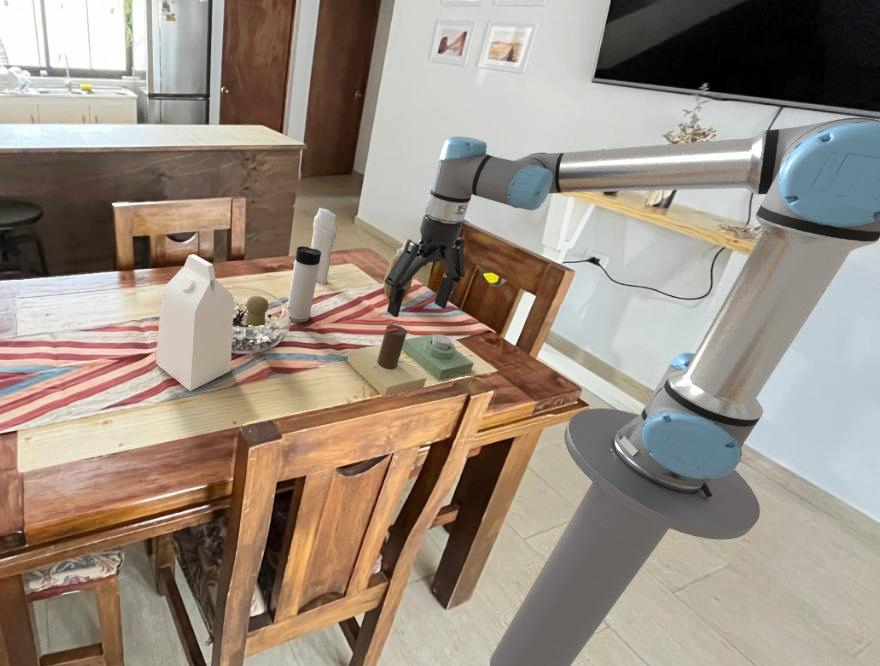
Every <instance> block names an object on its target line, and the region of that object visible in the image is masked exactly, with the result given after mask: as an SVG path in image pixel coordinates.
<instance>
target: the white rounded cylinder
mask: <svg viewBox="0 0 880 666" xmlns="http://www.w3.org/2000/svg"><path fill="white" fill-rule="evenodd" d="M313 218H314V219H313V223H312V228H313V231H312V236H311V237H312V238H311V244H310V248H312V249H318V250H320V251H321V257H320V264H319V269H318V275H317V280H316V282H318V283H320V284H322V285H326V284H327V280H328V276H329V271H330V265H331V255H332V250H333V246H334V241H335V239H337V234H338V227H337V215H336V214H335V213H333V212H332V211H331V210H329V209H327V208H323V207H319V208H318V210H317V213H316V215H315V216H314V217H313Z"/></svg>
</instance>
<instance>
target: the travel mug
mask: <svg viewBox="0 0 880 666" xmlns="http://www.w3.org/2000/svg"><path fill="white" fill-rule="evenodd" d="M320 257H321V251H320V250H318V249H312V248H311V247H309V246H297V248H296V253H295V257H294V263H293V270H292V275H291V281H290V288H289V293H288V301H287V307H286V312H287V313H288V315H289V319H288V320H290V321H292V322H295V323H306V322H308V321H310V318H311V313H312V306H313V301H314V296H315V290H316V285H317V281H316V280H317V275H318V269H319V264H320Z"/></svg>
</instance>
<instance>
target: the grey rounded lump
mask: <svg viewBox="0 0 880 666" xmlns="http://www.w3.org/2000/svg"><path fill="white" fill-rule="evenodd" d="M450 343H452V340H451V338H450V337H448V336H447V335H444V334H439V333H438V334H437V333H436V335H434V337H433V340H432V346H434V347H435V348H437V349H440V350H448V349H449V346H450Z"/></svg>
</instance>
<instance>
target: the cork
mask: <svg viewBox="0 0 880 666" xmlns="http://www.w3.org/2000/svg"><path fill="white" fill-rule="evenodd" d="M268 309H269V301H268V299H267V298H265V297H263V296H261V295H252V296H250V297H249V298H248V299H247V300H246V310H247V312H246V316H245V320H244V323H246V324H247V325H254V326H259V325H265V326H266V313H267V311H268Z"/></svg>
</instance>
